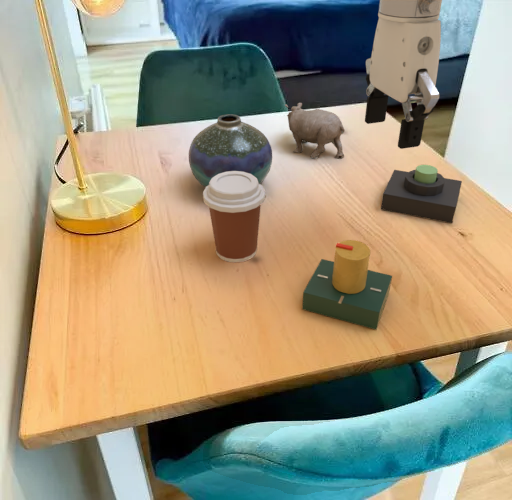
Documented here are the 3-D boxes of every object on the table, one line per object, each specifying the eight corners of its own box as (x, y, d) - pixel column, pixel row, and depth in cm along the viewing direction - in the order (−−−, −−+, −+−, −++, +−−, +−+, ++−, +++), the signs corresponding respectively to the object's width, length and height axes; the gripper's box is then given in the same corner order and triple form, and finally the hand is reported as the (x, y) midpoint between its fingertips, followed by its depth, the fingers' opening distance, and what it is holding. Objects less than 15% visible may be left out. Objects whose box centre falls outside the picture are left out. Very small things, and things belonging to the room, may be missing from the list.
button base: (458, 196, 92) (464, 171, 89) (452, 223, 85) (458, 197, 82) (391, 184, 96) (395, 160, 93) (380, 209, 89) (384, 184, 86)
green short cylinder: (436, 177, 89) (439, 166, 87) (434, 186, 86) (436, 175, 85) (415, 173, 90) (417, 163, 89) (412, 182, 87) (414, 171, 86)
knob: (368, 277, 68) (374, 242, 65) (360, 297, 65) (366, 261, 61) (337, 270, 70) (340, 235, 66) (327, 289, 66) (331, 253, 63)
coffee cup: (265, 267, 75) (265, 197, 68) (204, 267, 75) (198, 197, 68) (265, 234, 83) (265, 167, 76) (209, 234, 83) (204, 167, 76)
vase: (268, 166, 103) (269, 102, 95) (275, 204, 91) (276, 133, 83) (193, 169, 102) (187, 104, 95) (189, 207, 90) (182, 136, 82)
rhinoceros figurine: (330, 159, 99) (307, 86, 99) (289, 177, 111) (268, 111, 110) (357, 152, 104) (335, 82, 103) (315, 170, 115) (295, 106, 114)
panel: (389, 291, 70) (393, 273, 69) (376, 331, 64) (379, 312, 62) (320, 274, 74) (322, 256, 72) (301, 310, 67) (302, 292, 66)
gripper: (479, 14, 58) (448, 154, 67) (400, -8, 71) (384, 111, 81) (421, 19, 56) (398, 161, 66) (352, -5, 70) (341, 116, 79)
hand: (390, 133), depth 73 cm, fingers open, 9 cm apart
